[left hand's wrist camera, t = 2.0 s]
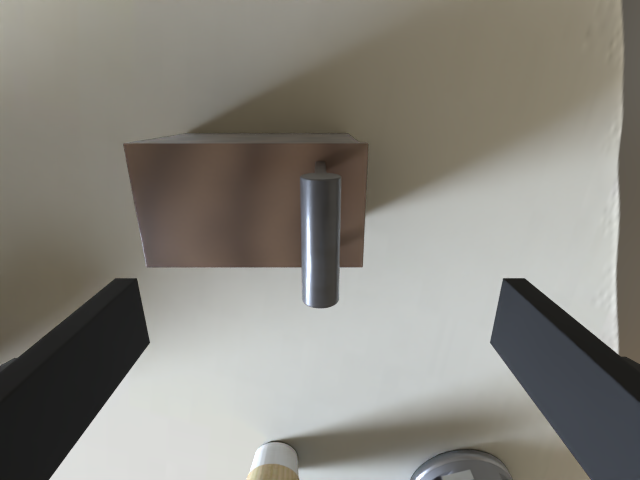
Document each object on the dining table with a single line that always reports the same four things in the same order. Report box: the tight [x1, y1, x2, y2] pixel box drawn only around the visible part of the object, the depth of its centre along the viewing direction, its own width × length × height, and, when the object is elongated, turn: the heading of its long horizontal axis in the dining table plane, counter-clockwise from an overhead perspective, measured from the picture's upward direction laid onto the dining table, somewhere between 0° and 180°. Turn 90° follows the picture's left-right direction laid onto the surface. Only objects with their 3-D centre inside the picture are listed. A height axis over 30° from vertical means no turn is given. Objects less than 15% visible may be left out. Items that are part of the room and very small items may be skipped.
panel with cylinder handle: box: [123, 142, 368, 308], centre depth 22 cm, size 17×10×9 cm, turn 90°
